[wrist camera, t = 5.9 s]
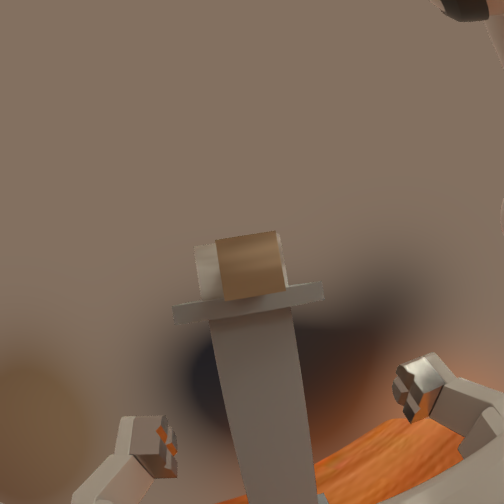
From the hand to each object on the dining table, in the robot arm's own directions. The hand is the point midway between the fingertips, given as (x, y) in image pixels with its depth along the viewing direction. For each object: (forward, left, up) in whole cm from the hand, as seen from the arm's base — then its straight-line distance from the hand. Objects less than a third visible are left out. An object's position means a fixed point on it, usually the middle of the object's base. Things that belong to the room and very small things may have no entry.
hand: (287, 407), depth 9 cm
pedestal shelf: (0, -20, -28) cm, 34 cm away
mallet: (0, -14, +4) cm, 15 cm away
